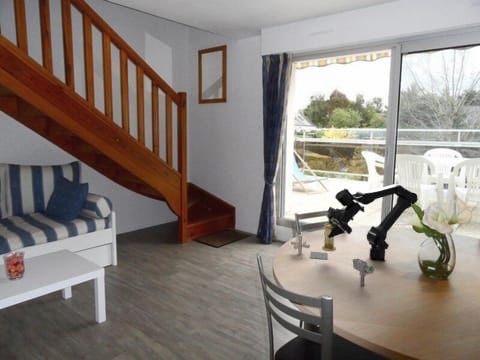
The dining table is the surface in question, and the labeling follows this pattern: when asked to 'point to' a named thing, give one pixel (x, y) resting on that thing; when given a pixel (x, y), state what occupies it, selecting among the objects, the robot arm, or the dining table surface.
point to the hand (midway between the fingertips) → (326, 235)
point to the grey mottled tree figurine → (362, 269)
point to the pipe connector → (300, 245)
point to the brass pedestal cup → (328, 241)
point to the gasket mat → (319, 255)
